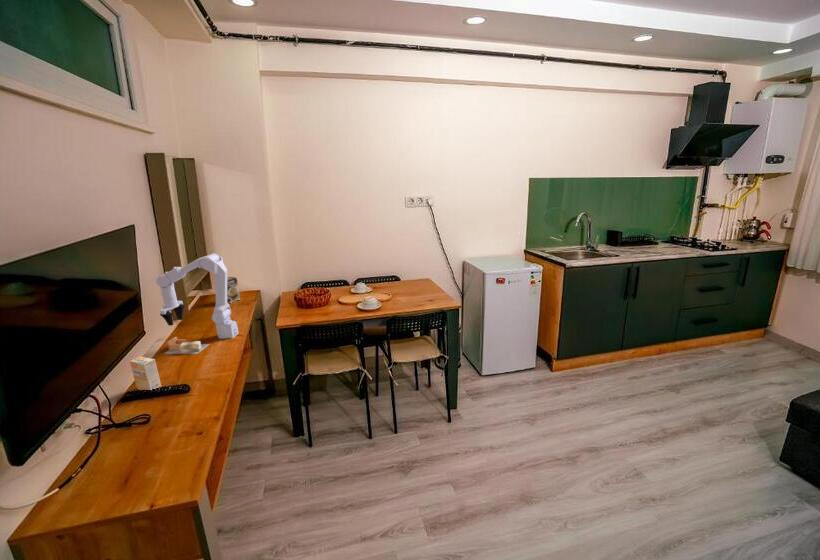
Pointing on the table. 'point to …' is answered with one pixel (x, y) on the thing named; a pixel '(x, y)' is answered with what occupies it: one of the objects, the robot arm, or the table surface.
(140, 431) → the table surface
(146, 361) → the supplement box
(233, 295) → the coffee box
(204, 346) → the board
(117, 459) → the table surface
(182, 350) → the beige rectangular block
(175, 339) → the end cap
